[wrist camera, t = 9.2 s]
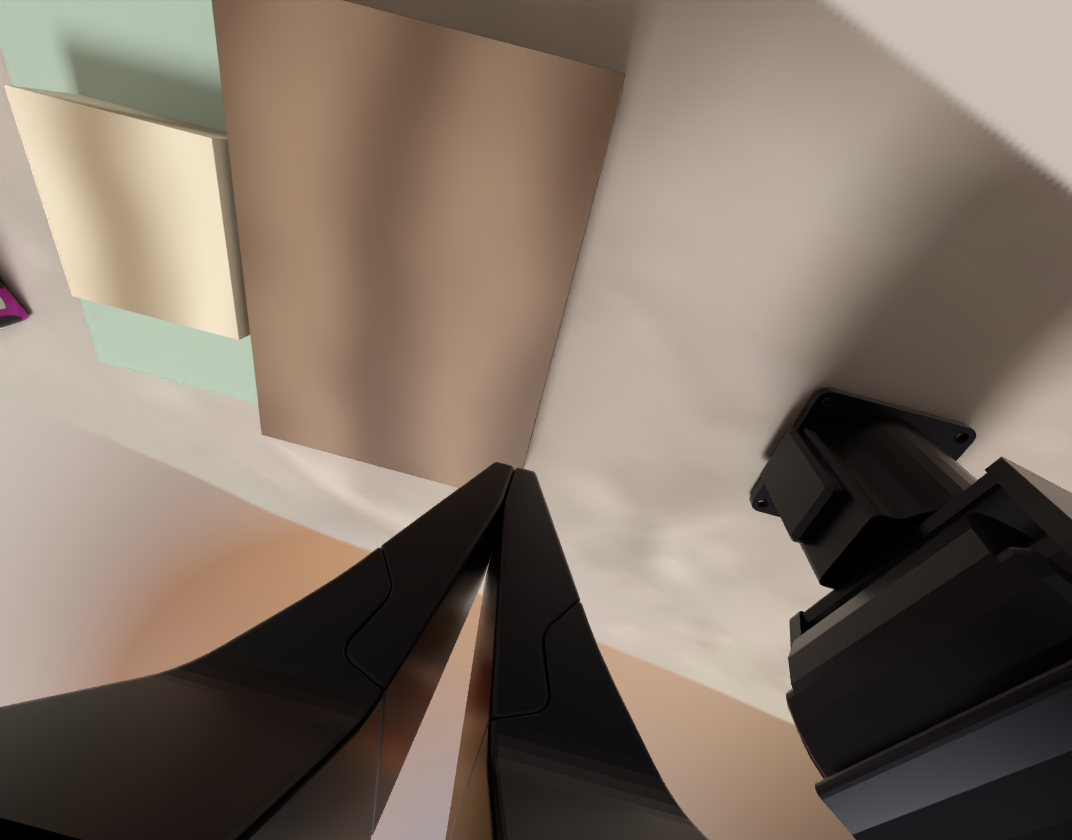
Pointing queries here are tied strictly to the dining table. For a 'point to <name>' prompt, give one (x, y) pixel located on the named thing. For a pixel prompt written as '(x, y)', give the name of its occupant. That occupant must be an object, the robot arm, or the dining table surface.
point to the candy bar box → (10, 309)
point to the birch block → (137, 208)
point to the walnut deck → (405, 226)
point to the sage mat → (152, 86)
